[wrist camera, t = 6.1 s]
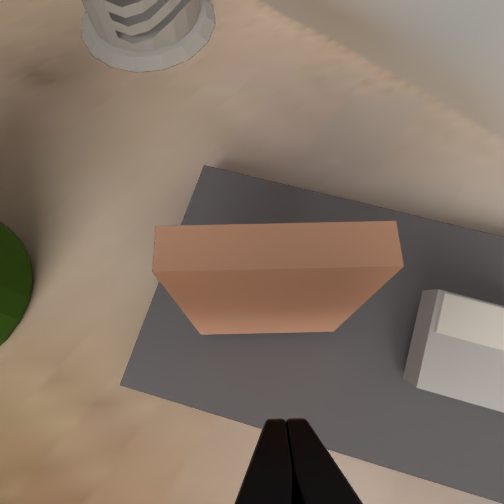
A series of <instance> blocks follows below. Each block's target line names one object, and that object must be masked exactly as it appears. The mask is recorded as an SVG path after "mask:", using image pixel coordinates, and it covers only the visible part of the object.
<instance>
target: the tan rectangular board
mask: <svg viewBox="0 0 504 504" xmlns="http://www.w3.org/2000/svg"><path fill="white" fill-rule="evenodd" d="M403 267H404V264H403V258H402V252H401V246H400V241H399V235H398V229H397V223H396V221H364V222H318V223H272V224H227V225H181V226H156V229H155V242H154V256H153V269H152V272H153V273H154V275H155V276H156V277H157V279H158V280H159V281H160V282H161V284H162V285H163V286H164V288H165V289H166V290H167V292H168V293H169V294H170V295H171V297H172V298H173V299H174V301H175V302H176V303H177V305H178V306H179V307H180V308H181V310H182V311H183V312H184V314H185V315H186V316H187V318H188V319H189V320H190V321H191V323H192V324H193V325H194V327H195V328H196V329H197V331H198V332H199V333H200V334H201V335H210V334H255V333H299V332H334V331H335V330H336V329H337V328H338V327H339V326H340V325H341V324H342V323H343V322H344V321H345V320H346V319H348V318H349V317H350V316H351V315H352V314H353V313H354V312H355V311H356V310H357V309H358V308H359V307H360V306H362V305H363V304H364V303H365V302H366V301H367V300H368V299H369V298H370V297H371V296H372V295H373V294H374V293H376V292H377V291H378V290H379V289H380V288H381V287H382V286H383V285H384V284H385V283H386V282H387V281H389V280H390V279H391V278H392V277H393V276H394V275H395V274H396V273H397V272H398V271H399V270H400V269H401V268H403Z"/></svg>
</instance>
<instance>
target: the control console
mask: <svg viewBox="0 0 504 504" xmlns="http://www.w3.org/2000/svg"><path fill="white" fill-rule="evenodd" d="M364 221H396V223H397V229H398V235H399V241H400V246H401V252H402V258H403V264H404V267H403V268H401V269H400V270H399V271H398V272H397V273H396V274H395V275H394V276H393V277H392V278H391V279H390V280H389V281H387V282H386V283H385V284H384V285H383V286H382V287H381V288H380V289H379V290H378V291H377V292H376V293H374V294H373V295H372V296H371V297H370V298H369V299H368V300H367V301H366V302H365V303H364V304H363V305H362V306H360V307H359V308H358V309H357V310H356V311H355V312H354V313H353V314H352V315H351V316H350V317H349V318H348V319H346V320H345V321H344V322H343V323H342V324H341V325H340V326H339V327H338V328H337V329H336V330H335V331H334V332H299V333H255V334H210V335H201V334H200V333H199V332H198V331H197V329H196V328H195V327H194V325H193V324H192V323H191V321H190V320H189V319H188V318H187V316H186V315H185V314H184V312H183V311H182V310H181V308H180V307H179V306H178V305H177V303H176V302H175V301H174V299H173V298H172V297H171V295H170V294H169V293H168V292H167V290H166V289H165V288H164V286H163V285H162V284H161V282H160V281H159V284H158V287H157V289H156V292H155V294H154V297H153V300H152V302H151V305H150V307H149V310H148V313H147V315H146V318H145V320H144V323H143V326H142V328H141V331H140V334H139V336H138V339H137V341H136V344H135V347H134V349H133V352H132V354H131V357H130V360H129V362H128V365H127V367H126V370H125V373H124V375H123V378H122V380H121V383H120V385H121V386H125V387H128V388H131V389H134V390H138V391H141V392H144V393H147V394H151V395H154V396H157V397H160V398H163V399H167V400H170V401H173V402H176V403H180V404H183V405H186V406H189V407H193V408H196V409H199V410H202V411H205V412H209V413H212V414H215V415H218V416H222V417H225V418H228V419H231V420H235V421H238V422H241V423H244V424H248V425H251V426H254V427H257V428H260V429H263V426H264V424H265V422H266V420H267V419H279V418H282V419H285V421H287V419H289V418H305V419H306V420H307V421H308V422H309V424H310V425H311V427H312V428H313V430H314V431H315V433H316V434H317V436H318V437H319V439H320V440H321V442H322V443H323V445H324V446H325V448H326V449H328V450H332V451H335V452H338V453H341V454H344V455H348V456H351V457H354V458H357V459H361V460H364V461H367V462H370V463H374V464H377V465H380V466H383V467H387V468H390V469H393V470H396V471H399V472H403V473H406V474H409V475H412V476H416V477H419V478H422V479H425V480H429V481H432V482H435V483H438V484H441V485H445V486H448V487H451V488H454V489H458V490H461V491H464V492H467V493H471V494H474V495H477V496H480V497H484V498H487V499H490V500H493V501H496V502H500V503H503V504H504V413H503V412H500V411H496V410H493V409H489V408H486V407H482V406H479V405H475V404H472V403H468V402H465V401H461V400H458V399H454V398H451V397H447V396H444V395H440V394H437V393H433V392H430V391H426V390H423V389H419V388H416V387H415V386H413V385H412V384H410V383H409V382H407V381H406V380H404V379H403V375H404V370H405V366H406V362H407V357H408V353H409V348H410V344H411V339H412V335H413V331H414V326H415V322H416V317H417V313H418V309H419V304H420V300H421V295H422V291H423V290H435V289H439V290H443V291H447V292H451V293H455V294H459V295H463V296H466V297H470V298H474V299H478V300H482V301H486V302H490V303H494V304H497V305H501V306H504V237H501V236H497V235H493V234H489V233H485V232H481V231H476V230H472V229H468V228H464V227H460V226H456V225H451V224H447V223H443V222H439V221H435V220H431V219H426V218H422V217H418V216H414V215H410V214H406V213H402V212H397V211H393V210H389V209H385V208H381V207H377V206H372V205H368V204H364V203H360V202H356V201H352V200H347V199H343V198H339V197H335V196H331V195H327V194H322V193H318V192H314V191H310V190H306V189H302V188H297V187H293V186H289V185H285V184H281V183H277V182H273V181H268V180H264V179H260V178H256V177H252V176H248V175H243V174H239V173H235V172H231V171H227V170H223V169H218V168H214V167H210V166H206V165H204V167H203V169H202V172H201V175H200V177H199V180H198V182H197V185H196V188H195V190H194V193H193V195H192V198H191V201H190V203H189V206H188V208H187V211H186V214H185V216H184V219H183V221H182V224H181V225H227V224H272V223H318V222H364Z"/></svg>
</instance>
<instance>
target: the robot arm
mask: <svg viewBox="0 0 504 504" xmlns="http://www.w3.org/2000/svg"><path fill="white" fill-rule="evenodd" d="M235 504H363V503H362V502H361V500H360V499H359V497H358V496H357V494H356V493H355V491H354V490H353V488H352V487H351V485H350V484H349V482H348V481H347V479H346V478H345V476H344V475H343V473H342V472H341V470H340V469H339V467H338V466H337V464H336V463H335V461H334V460H333V458H332V457H331V455H330V454H329V452H328V451H327V449H326V448H325V446H324V445H323V443H322V442H321V440H320V439H319V437H318V436H317V434H316V433H315V431H314V430H313V428H312V427H311V425H310V424H309V422H308V421H307V420H306V419H305V418H289V419H287V421H285V419H282V418H279V419H267V420H266V422H265V424H264V426H263V429H262V432H261V434H260V437H259V440H258V442H257V445H256V448H255V450H254V453H253V456H252V458H251V461H250V464H249V466H248V469H247V472H246V475H245V477H244V480H243V483H242V485H241V488H240V491H239V493H238V496H237V499H236V501H235Z"/></svg>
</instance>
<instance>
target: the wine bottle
mask: <svg viewBox="0 0 504 504" xmlns="http://www.w3.org/2000/svg"><path fill="white" fill-rule="evenodd" d="M32 283H33V276H32V268H31V261H30V259H29V257H28V255H27V253H26V250H25V248H24V246H23V244H22V242H21V240H20V239H19V238H18V237H17V236H16V235H15V234H14V233H13V232H12V231H11V230H10V229H9V228H8V227H7V226H5V225H4V224H3V223H1V222H0V345H1V344H2V343H4V342H5V341H6V340H7V339H8V337H9V336H10V335H11V333H12V332H13V331H14V329H15V328H16V326H17V325H18V324H19V322H20V321H21V319H22V317H23V314H24V312H25V310H26V307H27V305H28V303H29V301H30V295H31V289H32Z"/></svg>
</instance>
